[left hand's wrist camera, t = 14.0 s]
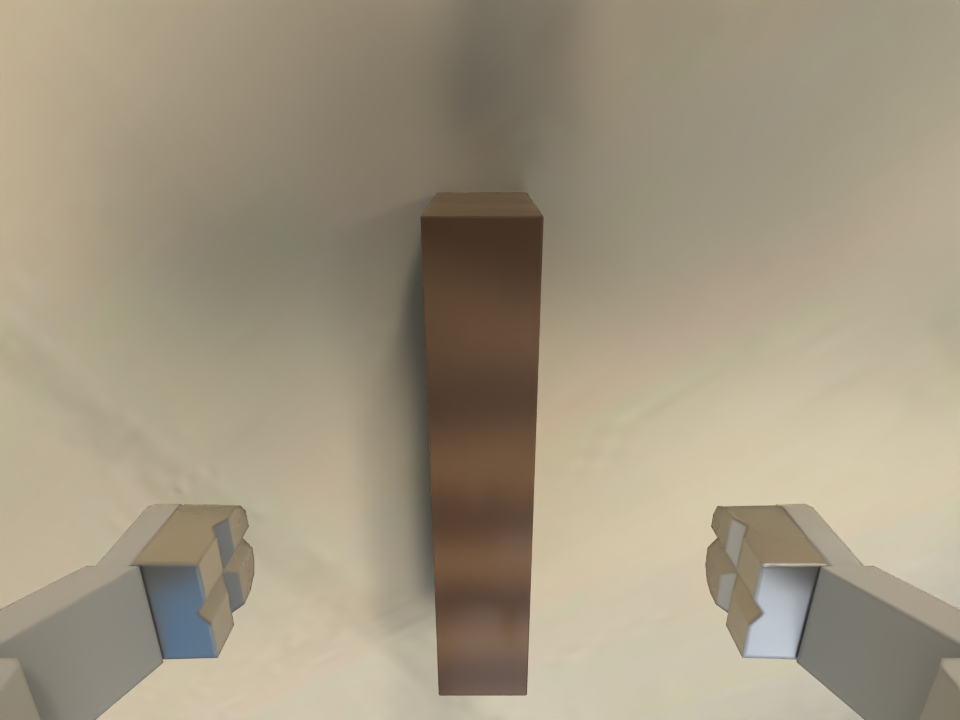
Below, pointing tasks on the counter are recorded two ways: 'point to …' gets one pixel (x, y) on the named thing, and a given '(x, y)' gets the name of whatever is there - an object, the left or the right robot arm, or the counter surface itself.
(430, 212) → the bar
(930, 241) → the counter surface
